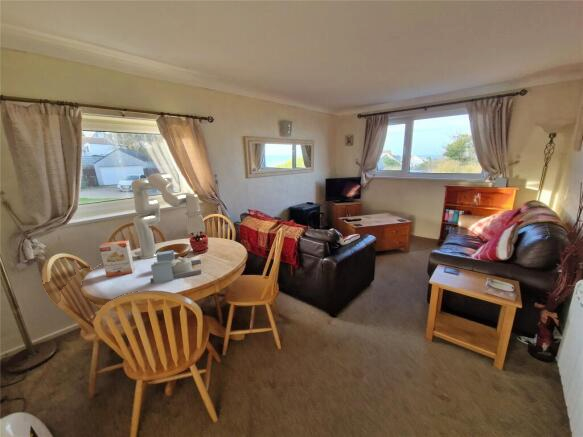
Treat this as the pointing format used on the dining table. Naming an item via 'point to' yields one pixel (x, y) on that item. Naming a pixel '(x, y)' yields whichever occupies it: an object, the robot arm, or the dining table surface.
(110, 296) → the dining table surface
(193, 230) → the robot arm
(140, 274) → the dining table surface
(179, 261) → the lumpy-topped squat cylinder
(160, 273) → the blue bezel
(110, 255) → the cracker box
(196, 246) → the plant pot
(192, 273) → the grey long bars
